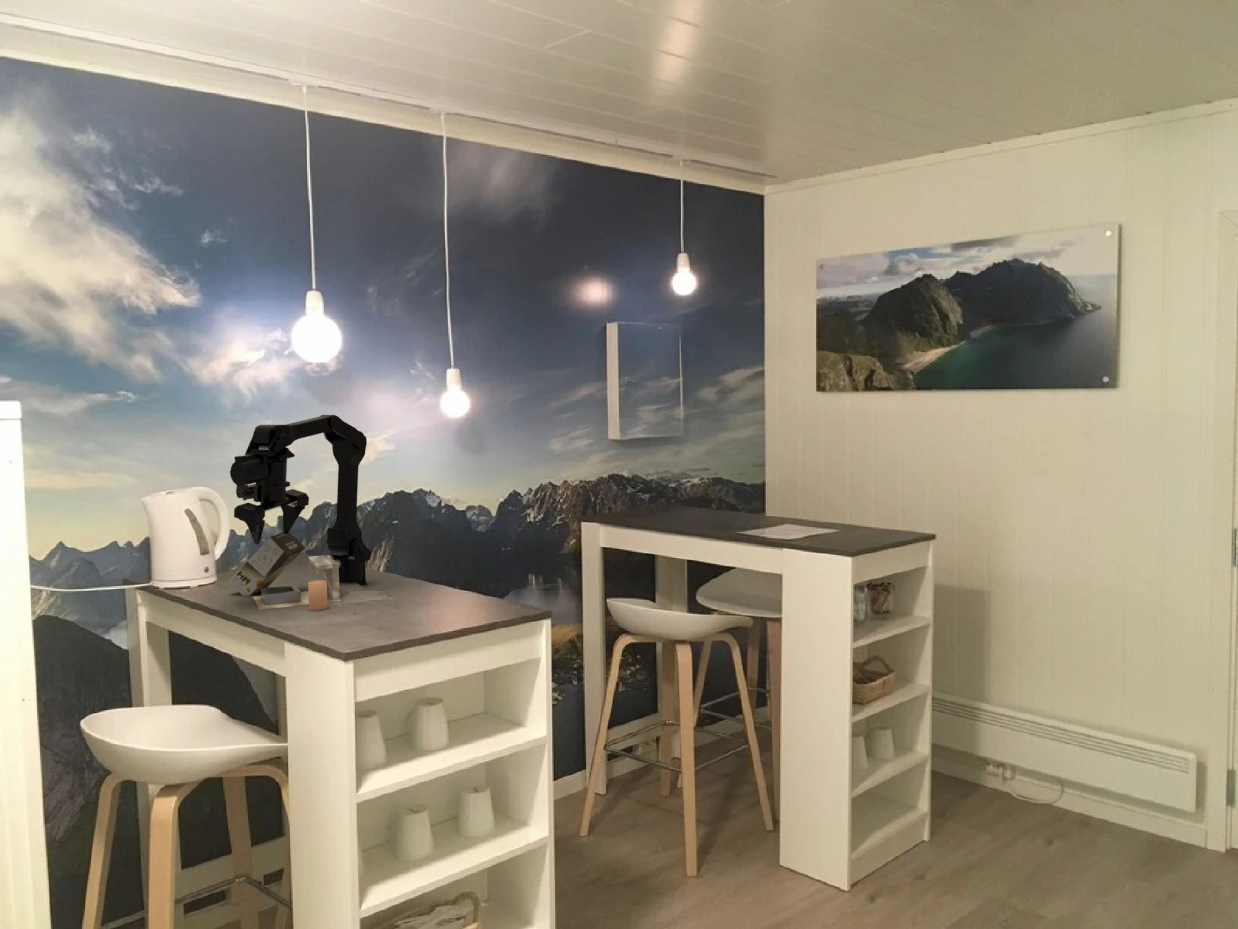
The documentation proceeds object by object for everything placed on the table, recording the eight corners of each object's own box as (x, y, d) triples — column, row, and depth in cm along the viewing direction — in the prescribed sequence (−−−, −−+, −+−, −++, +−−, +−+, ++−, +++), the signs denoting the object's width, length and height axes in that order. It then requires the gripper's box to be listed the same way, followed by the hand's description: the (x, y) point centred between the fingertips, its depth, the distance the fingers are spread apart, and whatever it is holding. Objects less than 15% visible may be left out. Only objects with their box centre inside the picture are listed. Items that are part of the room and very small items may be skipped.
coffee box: (246, 600, 236) (287, 555, 232) (227, 581, 236) (269, 536, 232) (265, 590, 245) (306, 547, 241) (248, 572, 245) (288, 529, 241)
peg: (326, 609, 224) (324, 579, 223) (329, 613, 221) (327, 582, 220) (307, 611, 222) (306, 581, 222) (310, 615, 219) (309, 584, 218)
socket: (296, 595, 235) (295, 585, 235) (301, 601, 228) (300, 591, 228) (261, 598, 232) (260, 588, 231) (265, 605, 224) (264, 594, 224)
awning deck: (330, 592, 242) (328, 554, 241) (341, 605, 229) (339, 564, 228) (253, 600, 234) (251, 561, 233) (260, 613, 221) (258, 572, 220)
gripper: (276, 461, 241) (274, 520, 245) (216, 477, 224) (215, 540, 229) (311, 472, 237) (308, 532, 241) (253, 489, 220) (251, 553, 225)
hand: (271, 538), depth 234 cm, fingers open, 9 cm apart
